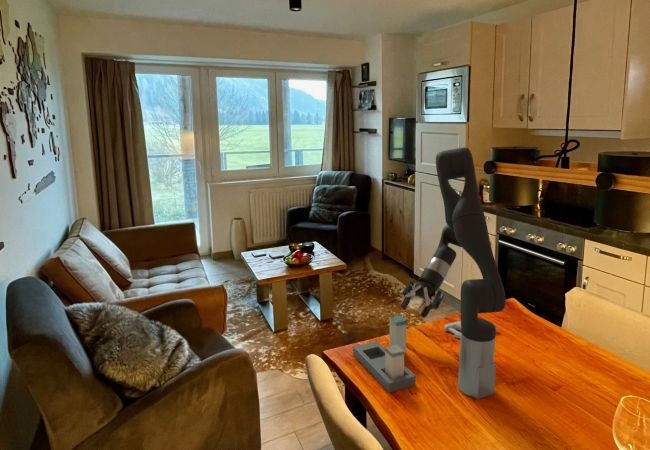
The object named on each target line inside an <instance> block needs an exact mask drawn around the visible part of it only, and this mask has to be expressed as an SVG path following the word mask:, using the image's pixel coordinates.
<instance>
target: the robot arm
mask: <svg viewBox="0 0 650 450" xmlns="http://www.w3.org/2000/svg"><path fill="white" fill-rule="evenodd" d="M435 168H436V169H435V170H436V176H437V180H438V185H439V189H440V194H441V197H442V200H443V201H442V202H443V207H444V218H445V223H446V225H445V226H443V228H442V231H441V235H440V239H439V244H438V246H437V249H436V250H435V252H434V253H433V255H432V257H431V258H430V260H429V261H428V262H427V265H426V266H425V267H424V270H422V273H421V274H420V275H419V279H418V281H417V283H415V282H414V281H413V280H409V282H408V283H407V284H406V286H405V288H404V289H403V291H402V292H401V295H402V296H404V299H403V300H402V301H401V303H400V308H401V309H402V310H406V309H407V308H408V306H409V304H410V303H411V301H412V300H414V299H417V298H419V299H422V300H424V301H425V304H426V305H424V307H423V308H422V310H421V312H420V314H419V316H420V317H421V318H423V319H425V318H426V317H428V315H429V313H430V311H431V310H432V309H433V310H439V309H438V308H440V307H439V306H440V304H441V303H442V300H443V299H444V296H445V295H444V293H443V292H442V291H441V290H440V288H441V286H442V284H443V282H444V281H445V279H446V277H447V275H448V273H449V271H450V269H451V267H452V265H453V263H454V261H455V260H456V258H457V252H456V250H455V249H453V248H452V247H451V246H449V244H450V245H453V246H456V247H459V248H462V249H463V250H464V251H465V252H466V254H468V255H469V256H470V257H471V259H473V261H474V263H475V264H476V265H477V267H478V269H479V271H480V273H481V276H482V278H475V279H472V278H471V279H465V280H464V281H463V282H462V284H461V287H460V321H461V330H460V332H461V339H459V340H460V342H459V343H460V345H459V358H458V359H459V360H458V378H457V379H458V380H457V388H458V389H459V391H460V392H461V393H463V394H465V395H467V396H469V397H473V398H474V399H476V400H480V399H483V398H486V397H489V396H492V395H495V388H496V387H495V386H496V374H497V373H496V372H497V363H495V362H494V361H495V351H496V349H495V348H496V338H497V337H496V336H497V330H496V328H495V326H494V325H495V324H494V323H492V322H491V321H489V320H488V319H485V318H481V317H479V316H478V314H489V313H491V314H492V313H501V312H503V310H504V309H505V308H506V302H507V301H506V300H507V299H506V293H505V292H506V291H505V288H504V285H503V281H502V278H501V275H500V272H499V269H498V265H497V263H496V260H495V256H494V252H493V248H492V244H491V239H490V235H489V229H488V224H487V220H486V216H485V212H484V208H483V205H482V200H481V197H480V194H479V188H478V182H477V177H476V176H477V175H476V169H475V163H474V158H473V154H472V151H471V150H470V149H469V148H468V147H458V148H451V149H448V150H447V149H446V150H442V151H439V152H437V154H436V155H435ZM462 178H464V180H465V181H464V185H463V186H464V187H463V189H462V192H461V194H459V193H458V191H456V190H455V189H454V188H453V187H452V185H451V183H450V181H451V180H456V179H462ZM433 297H434V298H433ZM487 320H488V321H487Z"/></svg>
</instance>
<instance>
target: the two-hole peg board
mask: <svg viewBox="0 0 650 450" xmlns="http://www.w3.org/2000/svg"><path fill="white" fill-rule="evenodd" d="M352 353H353V354H352V355H353V357H354V358H356V360H357V361H358V362H359V363H360V365H362V366H363V367H364V368H365V369H366V370H367V371H368V372H369V374H371V375H372V377H373V378H375V380H376V381H377V382H378V383H379V384H380V385H381V386H382V387H383V388H384V389H385V390H386V392H387V393H394V392H397V391H401V390H403V389H408V388H410V387H411V388H412V387H413V386H416V383H417V381H416V380H417V379H416V378H417V376H416V375H415V374H414V373H413V372H412V371H411V370H409V369H408V368H407V367H406V366H405V353H404V350H403V349H401V348H400V347H399V346H398V345H393V346H389V345H388V346H385V347H384V346H383V344H381V343H379V341H377V340H375V341H372V342H367V343H363V344H358V345H354V346H352Z"/></svg>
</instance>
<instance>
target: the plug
mask: <svg viewBox="0 0 650 450" xmlns="http://www.w3.org/2000/svg"><path fill="white" fill-rule="evenodd" d="M407 321H408V320H407V319H406V318H404V317H403V316H401V315H400V314H399V315H395V316H391V317H389V336H388V337H389V340H388V341H389V343H388V347H389V346H393V345H398V346H399V347H400V348H401V349H403V350H404V354H406V352H407V324H408V323H407Z"/></svg>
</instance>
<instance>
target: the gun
mask: <svg viewBox="0 0 650 450" xmlns="http://www.w3.org/2000/svg"><path fill="white" fill-rule="evenodd" d="M486 320H487V321H489V319H486ZM494 326H495V328H496V331H497V330H498V327H499V326H498V325H496V324H494ZM443 330H444V333H445V332H450V333H452V334H453V335H454V336H453V337H454V338H456V339H459V340H461V320H458V321H453V322H451V323H446V324H445V325H444V329H443Z"/></svg>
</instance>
